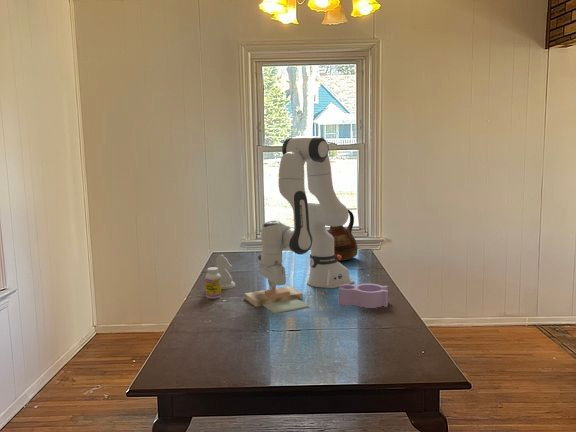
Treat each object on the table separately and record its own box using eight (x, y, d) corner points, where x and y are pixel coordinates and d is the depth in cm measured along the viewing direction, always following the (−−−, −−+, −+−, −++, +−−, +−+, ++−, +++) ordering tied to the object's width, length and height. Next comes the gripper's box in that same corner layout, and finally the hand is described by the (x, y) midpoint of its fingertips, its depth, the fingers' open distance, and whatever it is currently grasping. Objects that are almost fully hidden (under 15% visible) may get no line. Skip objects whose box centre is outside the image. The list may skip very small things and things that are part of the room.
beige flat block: (289, 291, 229) (289, 285, 229) (302, 298, 218) (302, 293, 218) (244, 298, 219) (244, 293, 219) (255, 306, 209) (255, 301, 208)
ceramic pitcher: (316, 257, 292) (316, 205, 287) (348, 254, 298) (349, 203, 293) (329, 265, 274) (329, 210, 269) (363, 262, 280) (364, 208, 275)
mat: (296, 299, 217) (296, 298, 217) (309, 307, 207) (309, 305, 207) (262, 305, 210) (262, 304, 210) (274, 313, 200) (274, 312, 200)
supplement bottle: (203, 298, 220) (202, 270, 218) (209, 294, 226) (208, 266, 224) (218, 299, 218) (217, 270, 216) (223, 295, 224) (222, 266, 222)
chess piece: (230, 289, 232) (229, 258, 229) (210, 288, 235) (209, 256, 233) (238, 283, 241) (237, 253, 239) (219, 282, 244) (218, 251, 242)
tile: (283, 292, 220) (283, 287, 219) (290, 296, 214) (290, 291, 214) (264, 295, 216) (264, 290, 215) (270, 299, 210) (270, 294, 210)
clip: (337, 307, 207) (338, 291, 206) (340, 297, 219) (340, 282, 218) (387, 309, 204) (388, 293, 203) (387, 300, 216) (387, 284, 215)
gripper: (289, 263, 209) (289, 295, 211) (269, 253, 227) (269, 283, 229) (275, 265, 206) (276, 297, 208) (256, 254, 224) (256, 285, 226)
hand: (272, 290), depth 219 cm, fingers closed
